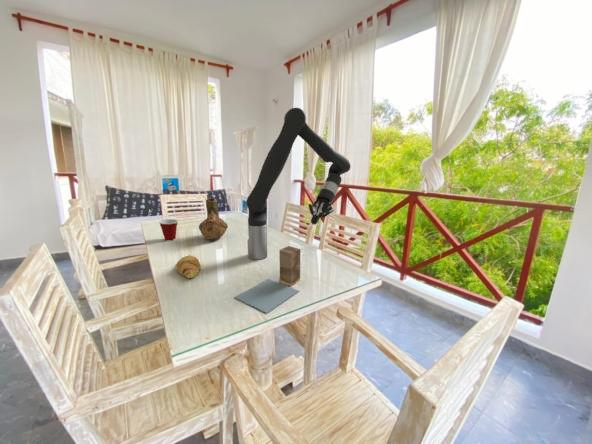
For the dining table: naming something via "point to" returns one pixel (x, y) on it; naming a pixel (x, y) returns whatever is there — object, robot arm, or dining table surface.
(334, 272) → the dining table surface
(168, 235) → the plastic cup
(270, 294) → the slate mat
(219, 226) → the ceramic vessel
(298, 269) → the walnut block
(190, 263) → the croissant
